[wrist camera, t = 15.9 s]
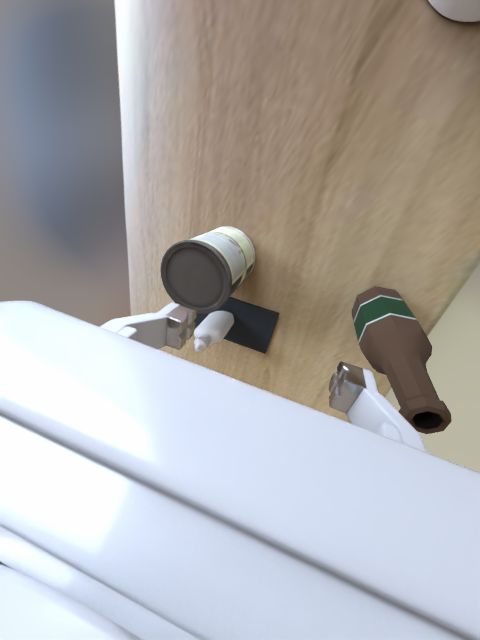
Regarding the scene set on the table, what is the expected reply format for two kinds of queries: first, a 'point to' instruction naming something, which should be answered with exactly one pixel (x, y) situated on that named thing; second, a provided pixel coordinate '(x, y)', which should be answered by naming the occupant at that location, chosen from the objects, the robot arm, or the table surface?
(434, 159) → the table surface
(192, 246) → the coffee can
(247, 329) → the mat
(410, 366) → the beer bottle
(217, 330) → the eye dropper bottle
